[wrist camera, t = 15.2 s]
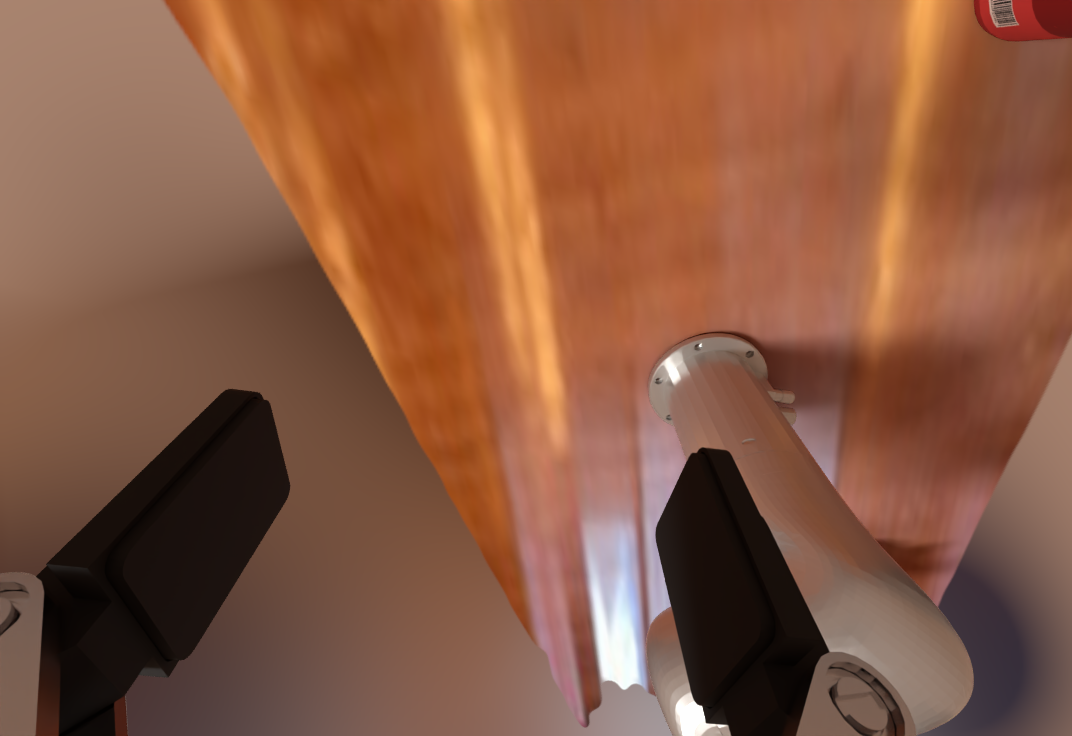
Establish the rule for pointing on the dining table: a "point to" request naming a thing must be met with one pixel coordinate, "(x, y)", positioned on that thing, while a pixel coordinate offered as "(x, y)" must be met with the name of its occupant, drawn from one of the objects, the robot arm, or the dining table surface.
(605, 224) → the dining table surface
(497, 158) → the dining table surface
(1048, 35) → the canned food
